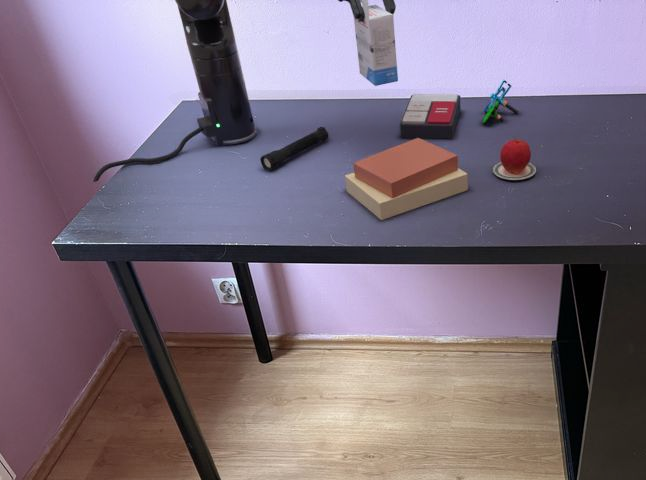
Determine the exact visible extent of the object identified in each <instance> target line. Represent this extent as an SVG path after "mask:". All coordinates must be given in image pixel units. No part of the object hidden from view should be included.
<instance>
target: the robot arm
mask: <svg viewBox="0 0 646 480" xmlns="http://www.w3.org/2000/svg"><path fill="white" fill-rule="evenodd" d="M174 1H175V4H176V5H177V9H178V13H179V17H180V21H181V23H182V28H183V32H184V38H185V41H186V46H187V49H188V53H189V56H190V59H191V63H192V64H191V65H192V67H193V68H192V69H193V70H194V75H195V78H196V82H197V86H198V90H199V92H197V96H198V99H199V104H200V107H201V110H202V114H203V117H198V118H196V121H197V125H198V128H196V129H195V130H193V131H191V132H190V133H188V134H187V135H186V136H185V137H184V138H183V139H182V140H181V142H180V143H179V145H178V147H177V148H176V149H174V150H173V151H172V152H170V153H168V154H165V155H161V156H157V157H151V158H143V157H134V158H133V157H132V158H127V159H123V160H118V161H113V162H109V163H107V164H105V165H103V166H102V167H101V168H99V170H97V172H96V173H95V175H94V177H93V180H92V182H94V183H96V182H99V180H100V179H101V177H102V175H103V174H104V173H105V172H106V171H107V170H110V169H111V168H112V169H113V168H115V167H120V166H126V165H129V164H130V165H131V164H134V163H135V164H137V163H143V164H154V163H159V162H163V161H167V160H170V159H173V158H174V157H176V156H177V155H179V154H180V153H181V152H182V151H183V149H184V147H185V145H186V144H187V143H188V141H190V140H191V139H192V138H194V137H195V136H197V135H198V134H200V133H202V134H203V136H205V137H206V139H209V138H210V139H211V140H212V141H213V142H214V143H215V144H216V145H217V146H219V147H220V146H221V147H222V146H228V145H229V146H230V145H238V144H242V143H246V142H248V141H251V140H252V139H254V138H255V137H256V135H257V127H255V121H254V119H255V118H254V116H253V115H254V114H253V112H252V108H251V103H250V99H249V95H248V90H247V86H246V80H245V77H244V73H243V67H242V64H241V60H240V54H239V50H238V46H237V42H236V36H235V32H234V27H233V23H232V19H231V15H230V10H229V6H228V1H227V0H174ZM337 1H338V2H339V3H342V2H347V3H348V4H349V6H350V9H351V12H352V16H353V19H354V18H355V19H358V21H359V22H363V20H364V12H363V9H362V7H363V5H362V3H361V2H360V0H337ZM382 3H383V6H384V10H385V11H387V12H389V13H391V14H393V15H394V14H395V12H396V7H397V6H396V2H395V0H382Z"/></svg>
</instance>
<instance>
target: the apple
mask: <svg viewBox="0 0 646 480" xmlns="http://www.w3.org/2000/svg"><path fill="white" fill-rule="evenodd" d="M512 138H513V139H511V140H509V141H506V142H505V143H504V144H503V146H502V147H501V150H500V155H499V157H500V162H498V163H496V164H495V165H494V166H493V167H492V173H493V174H494V175H495V176H496V177H498V178H500V179H504V180H508V181H521V180H526V179H529V178H531V177H533V176H534V175H535V174H536V172H537V169H536V166H535V165H534V164H532V163H531V162H530V161H531V158H532V152H531V151H532V150H531V148H530V145H529V143H528V142H526V141H524V140H523V139H516V137H515V136H512Z"/></svg>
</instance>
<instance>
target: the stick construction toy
mask: <svg viewBox="0 0 646 480" xmlns="http://www.w3.org/2000/svg"><path fill="white" fill-rule="evenodd" d="M504 83H505V84H506V85H507V86H508V87H507V89H506V88H505V87H504V86H503V85H504ZM512 86H513V85H512V84H510V83H508V81H506V79H502V82H501V83H500V85H499V86H498V88H497V89H496V92H495V93H494V92H492V93H490V97H491V99H490V101H489V102H488V103H487V105H486V107H485V108H484V109H483V112H484V114H485V116H484V118H483V121H482V123H483V124H487V123H488V122H489V121H490V120H491V119H492V117H493V118H495V119H496V120H498V121H501V122H503V121H504V118H503V117H502V116H501V114H498V113H497V111H498V109H499V108H500V106H501V107H503V108H507V109H508V110H509V111H511V112H512V113H513V114H515V115H517V114H519V110H518V109H516V108H515V107H513V106H512V105H511V104H509V103H508V101H507V100H506V99H504V98H505V97H506V95H507V94H508V92H509V91H510V89H511V88H512ZM500 93H501V94H500ZM499 95H500V97H499ZM495 101H496V102H495ZM494 102H495V103H494ZM487 110H488V111H487Z"/></svg>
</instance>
